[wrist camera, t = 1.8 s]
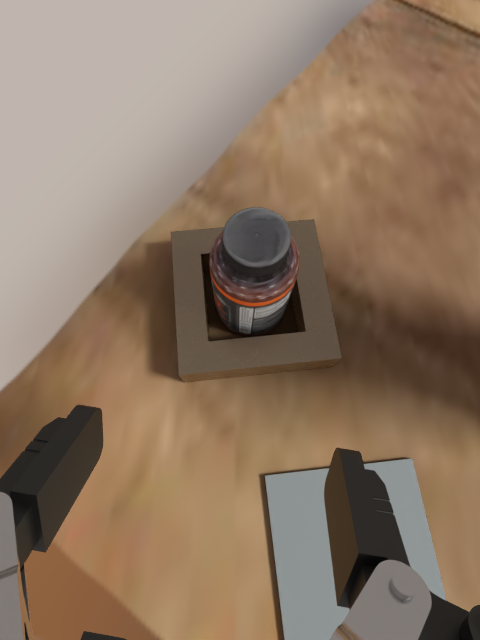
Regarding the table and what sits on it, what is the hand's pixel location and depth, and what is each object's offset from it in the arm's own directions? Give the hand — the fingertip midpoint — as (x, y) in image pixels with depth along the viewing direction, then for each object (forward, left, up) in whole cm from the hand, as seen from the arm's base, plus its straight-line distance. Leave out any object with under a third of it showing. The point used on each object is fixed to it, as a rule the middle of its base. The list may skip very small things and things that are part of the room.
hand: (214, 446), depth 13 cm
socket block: (-3, -11, -17) cm, 20 cm away
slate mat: (-8, +8, -17) cm, 20 cm away
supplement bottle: (-3, -11, -17) cm, 21 cm away
